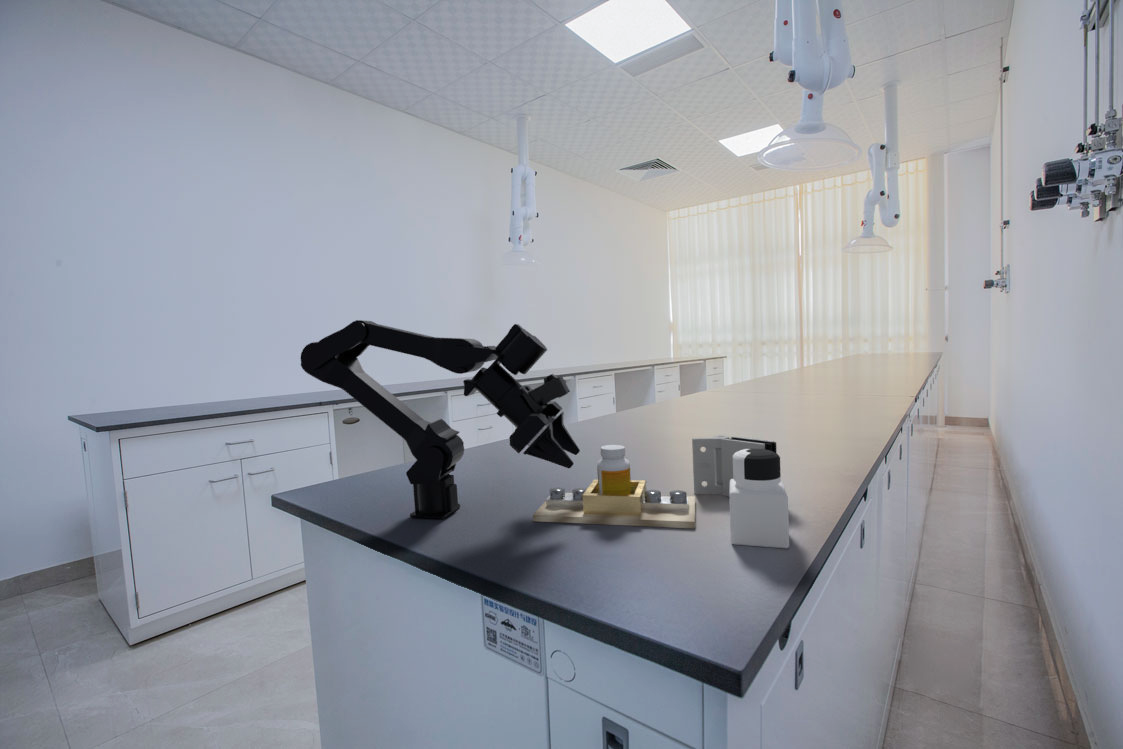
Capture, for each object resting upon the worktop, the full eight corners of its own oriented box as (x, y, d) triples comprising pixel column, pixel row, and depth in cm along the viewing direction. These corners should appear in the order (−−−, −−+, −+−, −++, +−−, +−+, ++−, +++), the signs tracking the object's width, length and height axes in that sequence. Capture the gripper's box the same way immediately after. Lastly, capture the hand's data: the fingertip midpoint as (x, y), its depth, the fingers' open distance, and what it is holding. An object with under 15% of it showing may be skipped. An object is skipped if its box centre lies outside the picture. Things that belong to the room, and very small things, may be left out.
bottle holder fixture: (541, 512, 81) (540, 493, 80) (556, 495, 89) (555, 478, 89) (687, 517, 74) (686, 498, 74) (688, 499, 83) (688, 481, 83)
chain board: (533, 521, 80) (532, 515, 79) (554, 497, 91) (553, 492, 91) (694, 528, 73) (694, 521, 73) (695, 502, 84) (695, 496, 84)
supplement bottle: (638, 506, 81) (635, 447, 80) (609, 513, 78) (607, 452, 78) (620, 498, 86) (617, 442, 85) (592, 503, 83) (590, 446, 83)
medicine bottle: (784, 529, 71) (781, 446, 70) (789, 549, 64) (787, 457, 63) (731, 525, 73) (728, 445, 72) (731, 545, 66) (728, 456, 66)
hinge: (692, 494, 89) (690, 438, 89) (704, 486, 93) (701, 433, 93) (773, 506, 81) (772, 444, 80) (782, 497, 85) (780, 438, 84)
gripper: (526, 361, 73) (605, 435, 72) (548, 357, 91) (610, 415, 90) (477, 416, 74) (553, 488, 74) (508, 401, 93) (569, 459, 92)
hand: (575, 459), depth 82 cm, fingers open, 9 cm apart
